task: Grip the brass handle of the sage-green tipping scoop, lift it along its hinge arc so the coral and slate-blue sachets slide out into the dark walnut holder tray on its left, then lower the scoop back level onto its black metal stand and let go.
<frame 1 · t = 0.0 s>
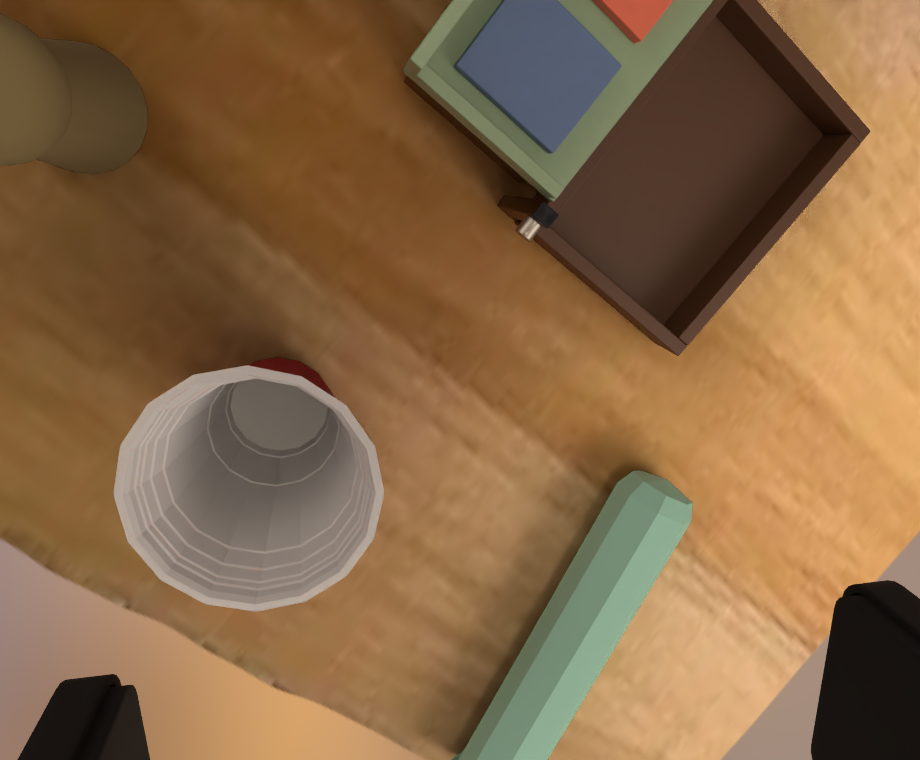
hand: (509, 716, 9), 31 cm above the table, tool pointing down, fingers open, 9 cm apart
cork: (83, 109, 34), on the table
blue sachet: (535, 67, 29), point 7 cm above the table, touching scoop
plastic cup: (277, 401, 40), on the table
holder: (677, 177, 39), on the table
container: (558, 619, 47), on the table
stand: (593, 96, 37), on the table
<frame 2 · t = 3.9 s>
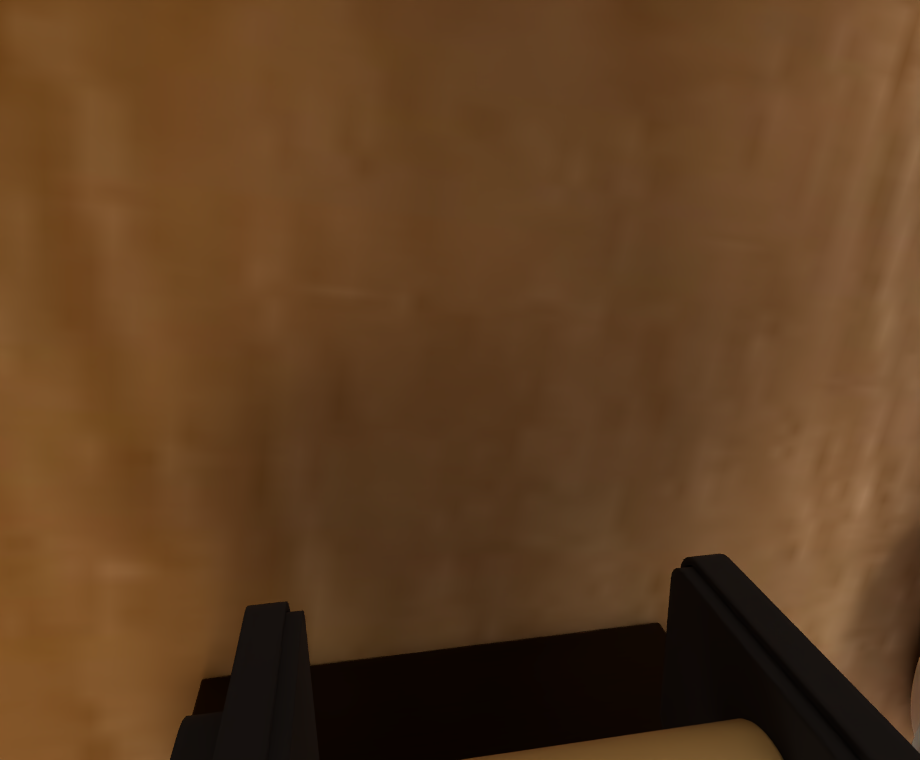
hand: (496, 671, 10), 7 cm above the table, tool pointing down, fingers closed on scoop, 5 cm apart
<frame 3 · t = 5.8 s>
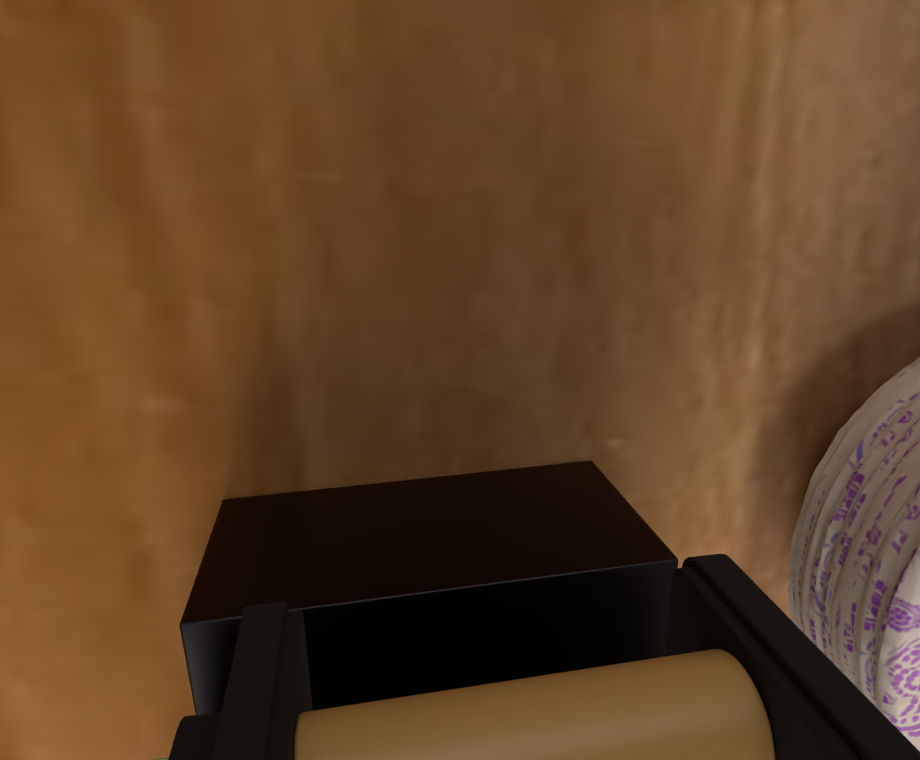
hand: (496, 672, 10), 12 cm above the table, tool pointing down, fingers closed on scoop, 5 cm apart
paper bowls: (916, 491, 26), on the table
stand: (427, 689, 25), on the table
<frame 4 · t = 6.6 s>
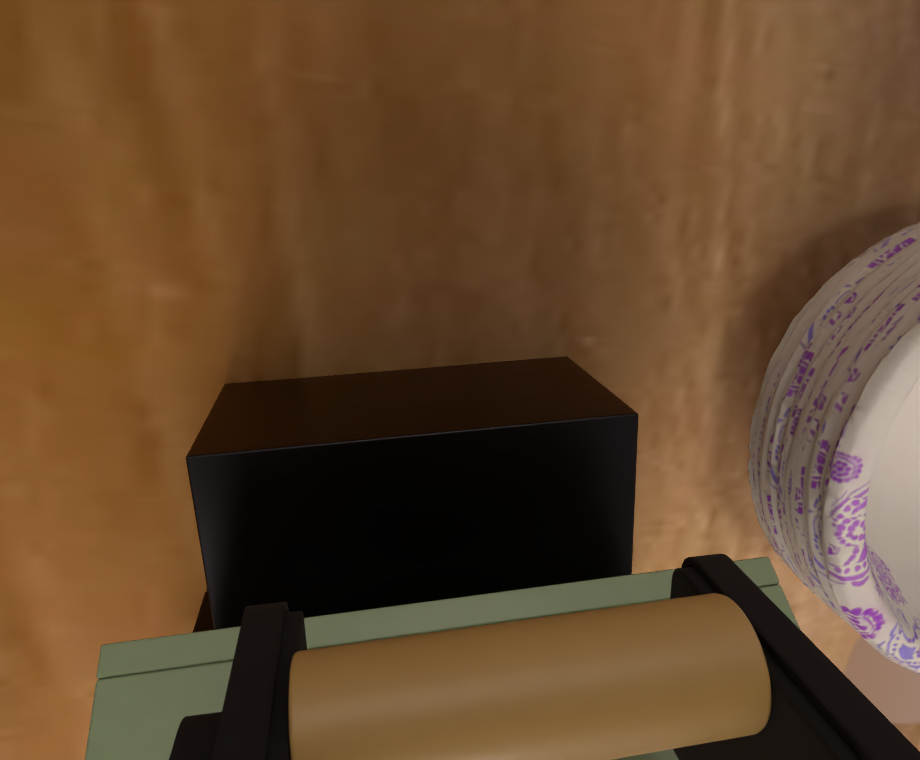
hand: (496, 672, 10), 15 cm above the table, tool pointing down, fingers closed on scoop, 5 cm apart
paper bowls: (874, 396, 28), on the table
scoop: (468, 715, 14), point 12 cm above the table, hinge at 36.1°, touching gripper
stand: (415, 576, 27), on the table
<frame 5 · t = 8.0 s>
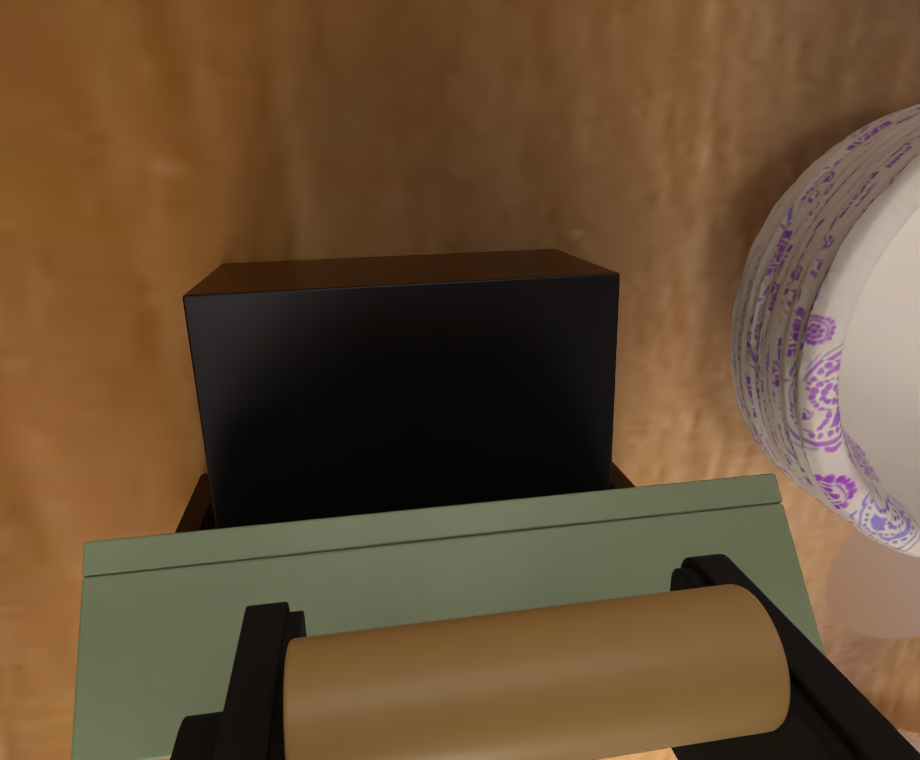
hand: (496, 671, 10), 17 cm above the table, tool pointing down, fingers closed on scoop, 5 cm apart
paper bowls: (856, 302, 29), on the table
scoop: (457, 610, 14), point 13 cm above the table, hinge at 52.5°, touching gripper
stand: (405, 467, 27), on the table
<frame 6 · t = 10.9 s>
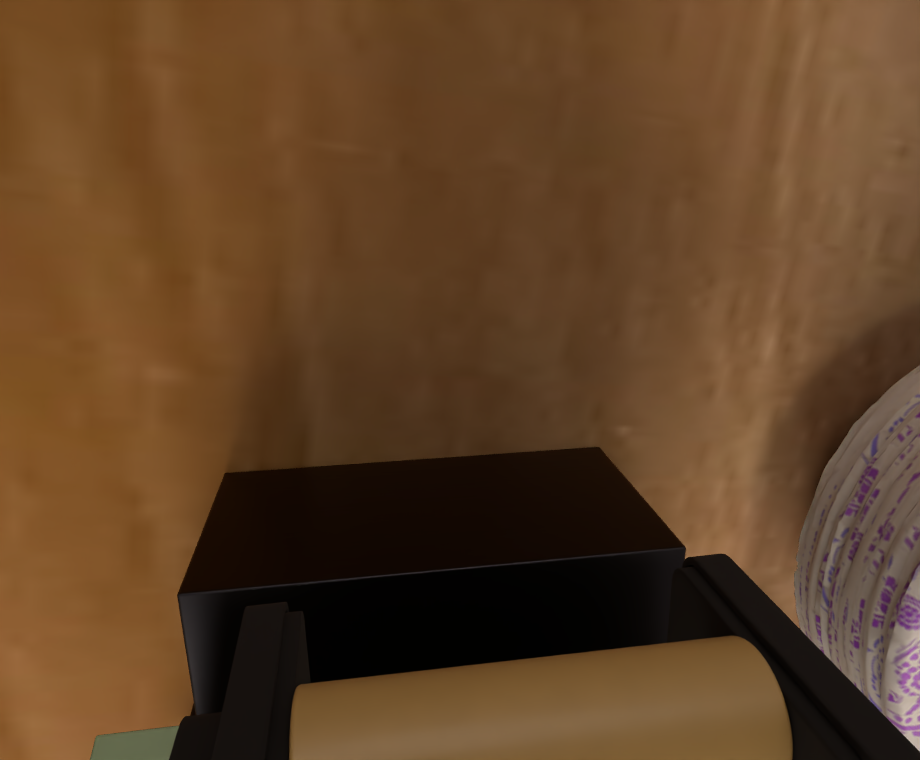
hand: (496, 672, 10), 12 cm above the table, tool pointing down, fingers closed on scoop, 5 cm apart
stand: (425, 672, 25), on the table
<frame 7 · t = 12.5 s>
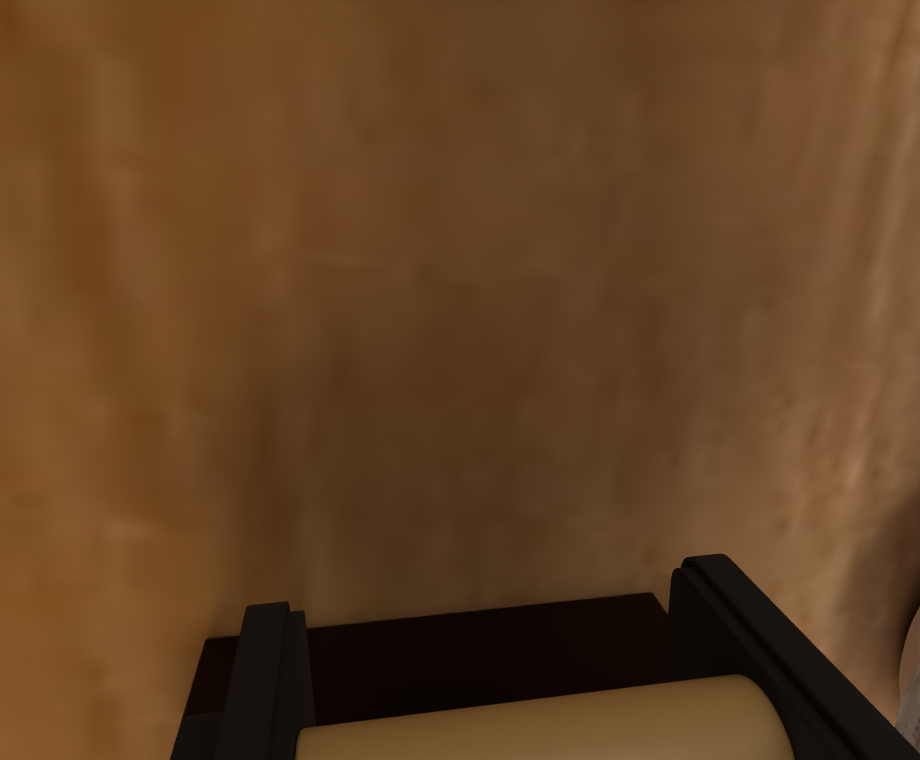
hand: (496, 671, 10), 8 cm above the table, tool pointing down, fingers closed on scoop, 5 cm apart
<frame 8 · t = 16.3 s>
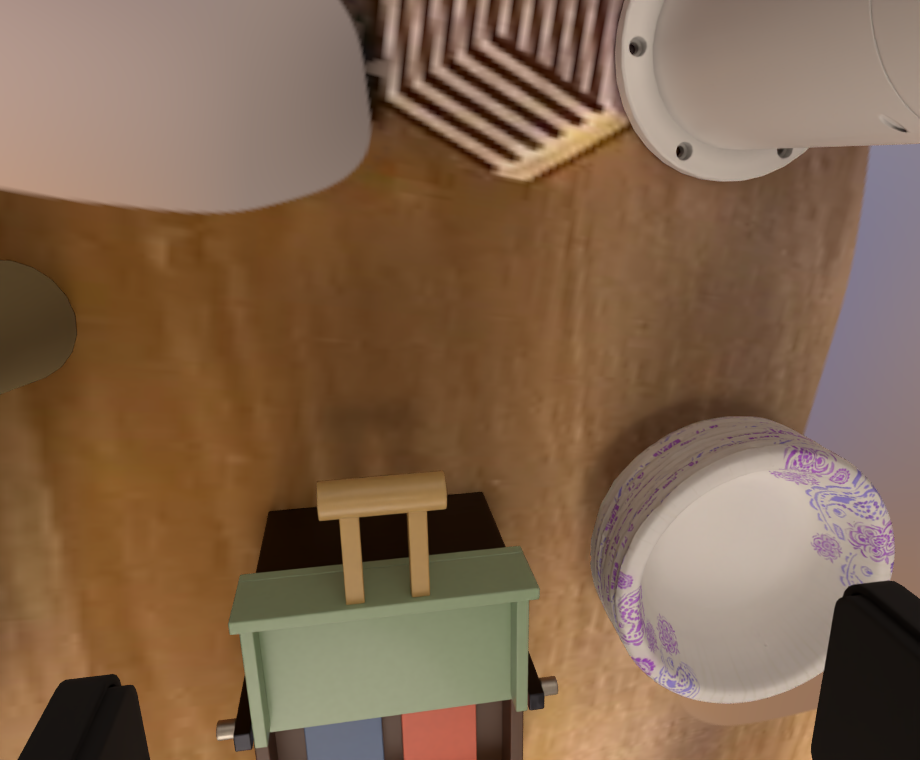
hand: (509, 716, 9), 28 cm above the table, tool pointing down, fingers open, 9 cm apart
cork: (10, 322, 33), on the table
blue sachet: (345, 747, 42), point 1 cm above the table, tilted 180°, touching holder
paper bowls: (688, 512, 43), on the table
holder: (391, 715, 44), on the table
coral sachet: (439, 734, 43), point 1 cm above the table, tilted 180°, touching holder
scoop: (388, 610, 31), point 8 cm above the table, hinge at -0.1°
stand: (385, 625, 42), on the table
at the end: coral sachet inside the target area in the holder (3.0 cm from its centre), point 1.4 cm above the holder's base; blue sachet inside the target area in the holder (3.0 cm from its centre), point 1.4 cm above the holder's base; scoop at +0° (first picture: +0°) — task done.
